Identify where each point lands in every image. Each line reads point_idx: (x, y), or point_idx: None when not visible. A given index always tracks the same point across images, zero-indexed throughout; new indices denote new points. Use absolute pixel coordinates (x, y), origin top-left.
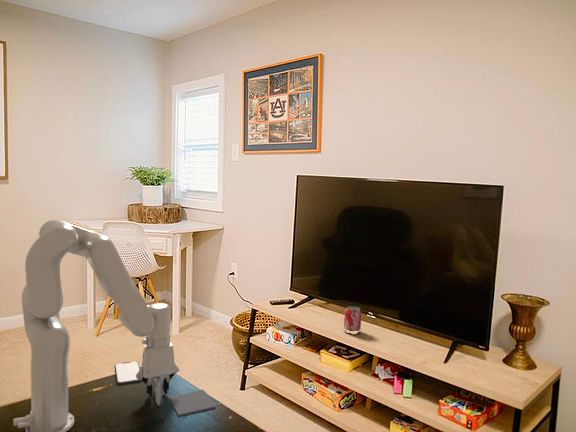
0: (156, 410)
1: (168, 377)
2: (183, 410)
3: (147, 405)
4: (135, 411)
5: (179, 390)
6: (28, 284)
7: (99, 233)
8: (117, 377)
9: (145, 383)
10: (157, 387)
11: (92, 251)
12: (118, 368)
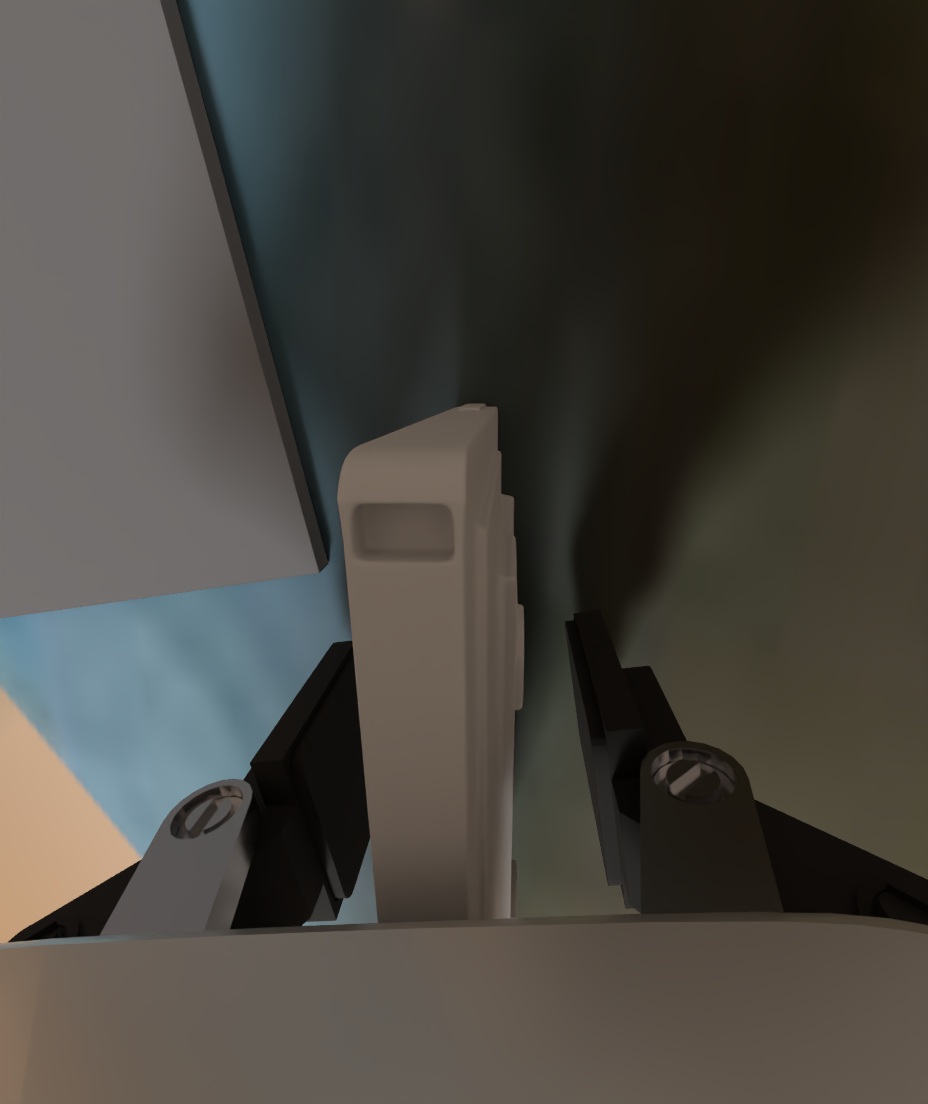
0: (523, 236)
1: (159, 881)
2: (45, 15)
3: (646, 446)
4: (873, 291)
5: (201, 727)
6: None
7: None
8: None
9: (783, 817)
10: (482, 489)
11: None
12: None
